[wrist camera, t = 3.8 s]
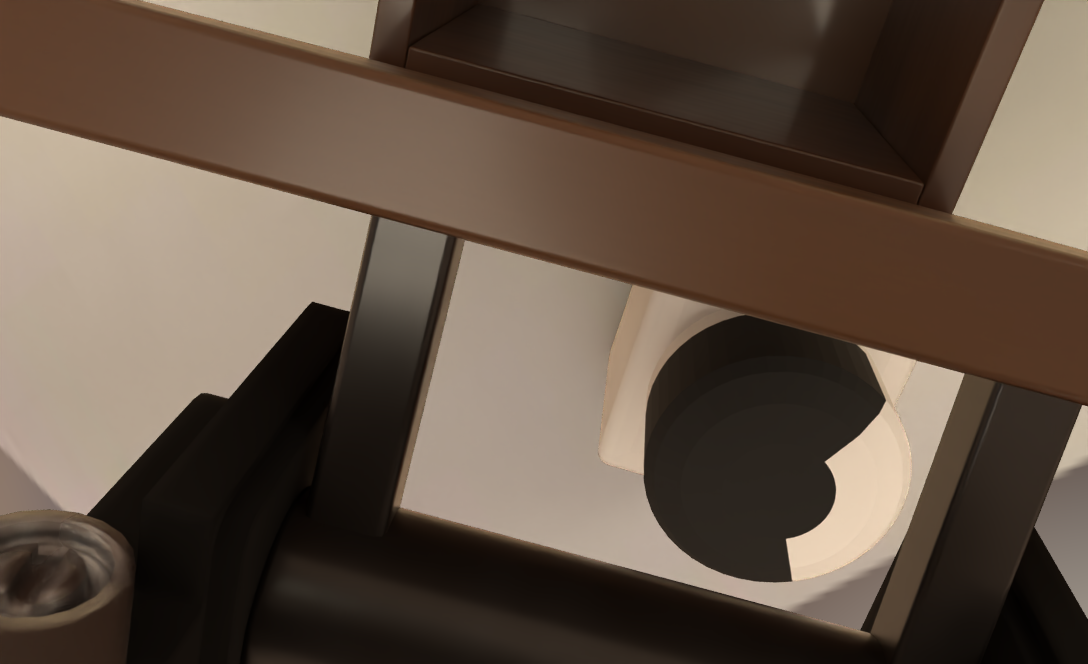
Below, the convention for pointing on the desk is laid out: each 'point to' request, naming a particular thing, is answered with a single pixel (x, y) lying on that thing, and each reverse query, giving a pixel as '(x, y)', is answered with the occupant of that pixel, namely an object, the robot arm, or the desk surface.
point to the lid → (601, 249)
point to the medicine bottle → (755, 436)
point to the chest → (746, 75)
